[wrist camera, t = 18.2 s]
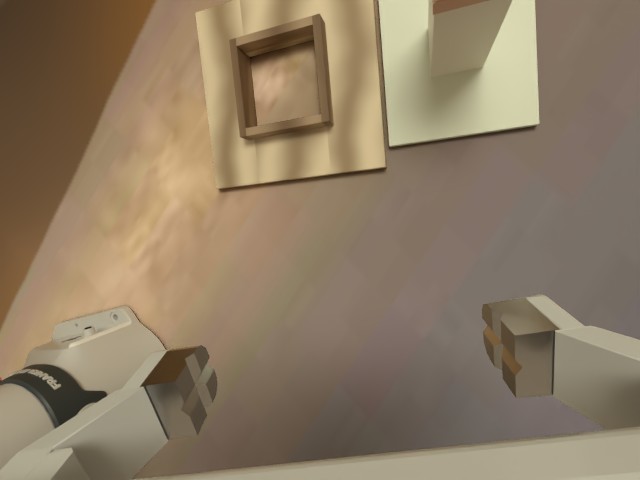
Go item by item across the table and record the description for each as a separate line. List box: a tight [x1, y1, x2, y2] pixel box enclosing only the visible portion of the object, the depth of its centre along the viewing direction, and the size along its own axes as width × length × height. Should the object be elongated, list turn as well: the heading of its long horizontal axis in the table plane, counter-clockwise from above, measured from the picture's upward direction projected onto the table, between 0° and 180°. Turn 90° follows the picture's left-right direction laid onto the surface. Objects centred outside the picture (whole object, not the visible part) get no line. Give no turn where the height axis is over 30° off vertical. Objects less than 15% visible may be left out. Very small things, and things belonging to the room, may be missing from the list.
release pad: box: [379, 0, 539, 147], centre depth 31 cm, size 13×16×1 cm
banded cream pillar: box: [428, 0, 512, 78], centre depth 24 cm, size 5×5×14 cm
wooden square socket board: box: [196, 0, 387, 189], centre depth 35 cm, size 20×20×3 cm
